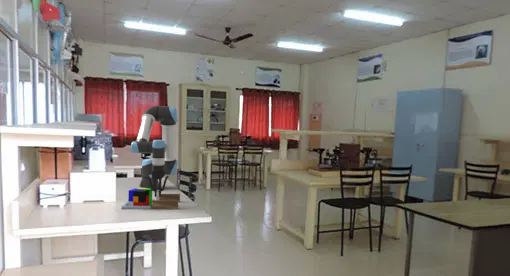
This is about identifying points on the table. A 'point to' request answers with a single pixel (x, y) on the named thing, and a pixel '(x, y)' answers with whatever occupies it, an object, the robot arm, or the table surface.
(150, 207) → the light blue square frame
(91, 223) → the table surface
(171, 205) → the channel
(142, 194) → the puzzle toy
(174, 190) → the table surface
